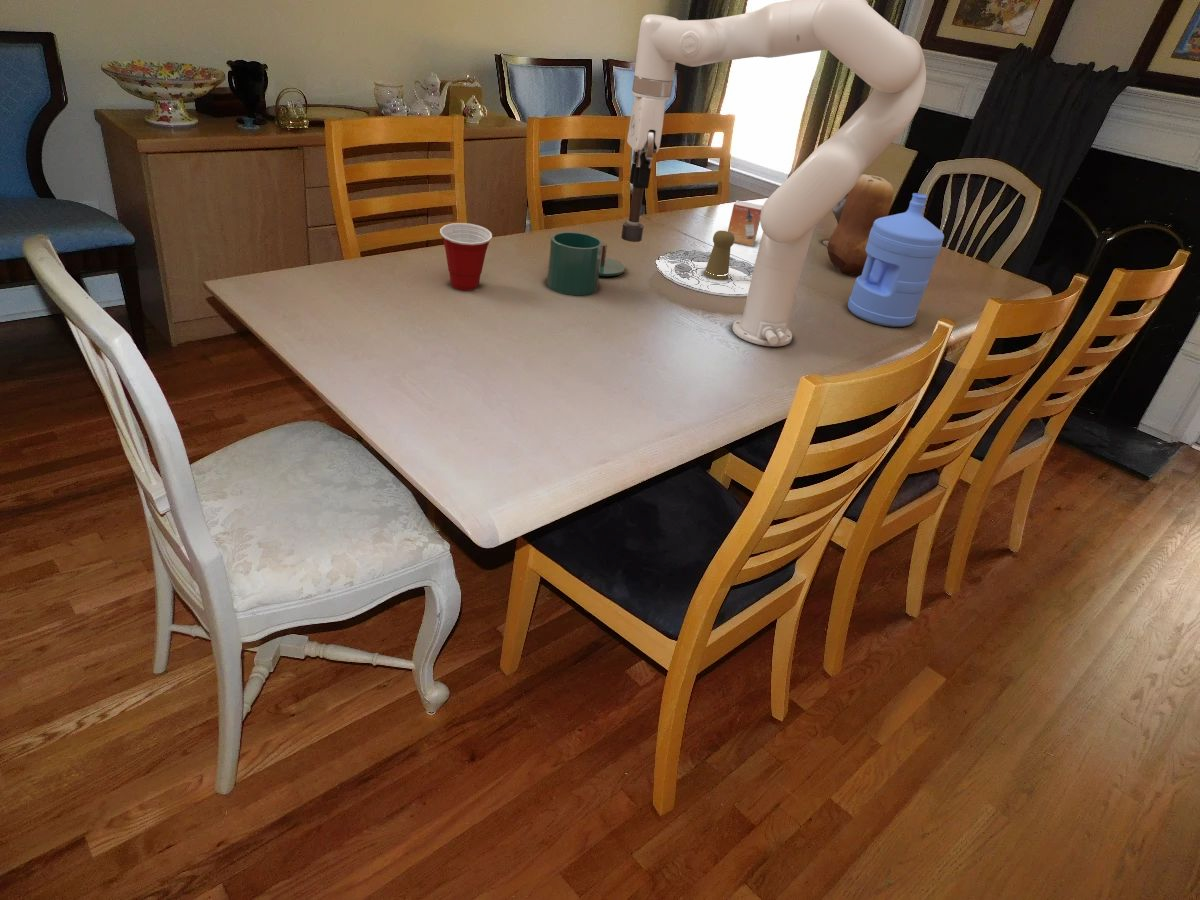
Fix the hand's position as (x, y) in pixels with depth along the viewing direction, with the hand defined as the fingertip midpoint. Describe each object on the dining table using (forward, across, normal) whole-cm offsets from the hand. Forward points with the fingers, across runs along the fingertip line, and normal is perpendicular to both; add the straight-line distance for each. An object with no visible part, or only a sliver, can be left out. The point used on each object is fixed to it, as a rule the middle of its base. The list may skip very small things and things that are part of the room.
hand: (638, 185), depth 157 cm
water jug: (+25, +1, +62) cm, 67 cm away
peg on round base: (+11, 0, 0) cm, 11 cm away
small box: (+25, -49, +43) cm, 70 cm away
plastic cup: (+25, -2, -35) cm, 43 cm away
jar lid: (+24, -18, -3) cm, 30 cm away
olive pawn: (+25, -19, +27) cm, 41 cm away
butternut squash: (+25, -29, +67) cm, 77 cm away
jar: (+25, -6, -11) cm, 27 cm away
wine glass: (+25, -53, +74) cm, 95 cm away
